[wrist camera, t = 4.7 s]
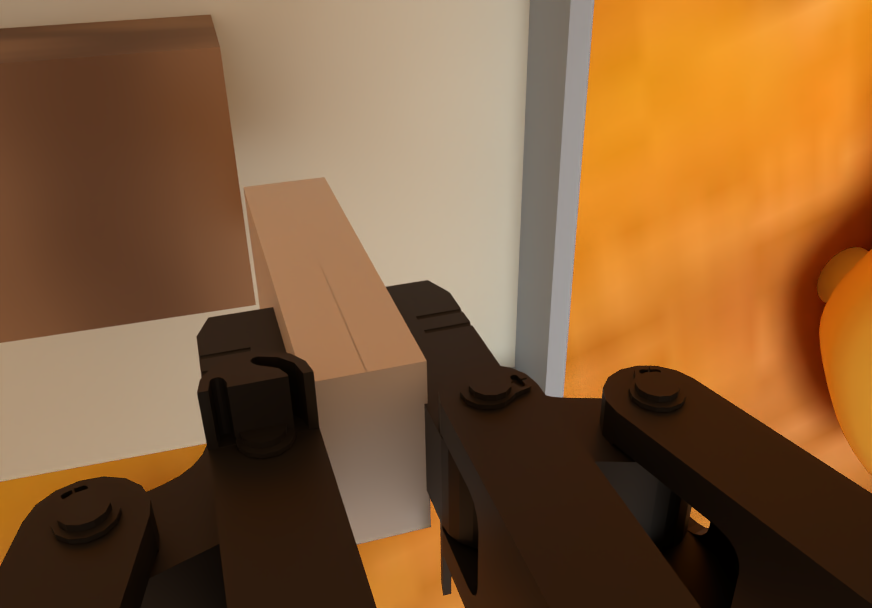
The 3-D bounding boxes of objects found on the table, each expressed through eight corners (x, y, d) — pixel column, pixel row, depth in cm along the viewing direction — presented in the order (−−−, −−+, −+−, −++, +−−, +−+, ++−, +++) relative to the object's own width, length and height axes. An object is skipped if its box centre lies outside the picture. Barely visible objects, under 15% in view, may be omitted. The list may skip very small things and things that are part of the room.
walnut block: (4, 274, 21) (-20, 345, 18) (-70, 33, 18) (-113, 71, 15) (243, 243, 23) (255, 305, 20) (210, 14, 20) (219, 47, 17)
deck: (-390, 498, 24) (-507, 642, 20) (-955, -339, 14) (-1417, -407, 10) (504, 345, 30) (560, 428, 26) (526, -303, 21) (620, -336, 16)
